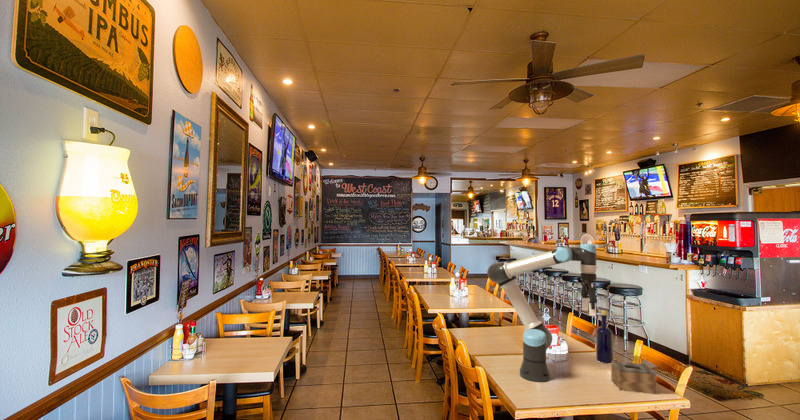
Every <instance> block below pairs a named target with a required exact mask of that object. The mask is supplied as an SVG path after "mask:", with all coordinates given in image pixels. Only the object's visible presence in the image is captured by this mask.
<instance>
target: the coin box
mask: <svg viewBox="0 0 800 420" xmlns="http://www.w3.org/2000/svg"><path fill="white" fill-rule="evenodd" d="M610 366H611V368H610V370H611V372H610V373H611V375H610V377H611V382H612V384H614V386H615V387H616V388H617V387H618V388H617V389H618V390H619V391H621V390H624V391H623V392H631V391H634V392H633V393H640V392H643V394H650V393H653V394H652V395H657V372H655V371H654V370H653V369H652V368H650V367H649V366H648V365H647V364H645V363H636V362H635V363H633V362H626V361H625V362H624V361H614V360H613V361H611V364H610Z"/></svg>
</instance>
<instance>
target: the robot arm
mask: <svg viewBox="0 0 800 420" xmlns="http://www.w3.org/2000/svg"><path fill="white" fill-rule="evenodd" d="M570 261H571V262H572V261H573V262H580V267H579V268H580V280H581V281H582V283H581V284H582V285H581V292H580V296H581V297H582V298H581V300H582V303H581V304H582V305H581V306H582V311H589V312H588V313H589V316H590V317H591V316H593V317H595V316H596V310H597V309H596V303H598V300H597V299H598V298H597V293H596V284H595V283H594V281H595V282H596V281H597V269H598V266H597V246H596V245H595V244H593V243H581V244H580V246H577V247H575V246H558V247H557V248H556V249H553V250H550V251H547V252H543V253H539V254H535V255H533V256H528V257H524V258H521V259H518V260H515V261H510V262H507V261H499V262H496V263H492V264H490V265H489V266H488V268H487V270H486V271H487V277H488V278H489V279H488V280H490V281H491V282H493V283H494V284H495V283H496V284H497V285H498V288H499V289H503V290H504V293H505V294H506V297H507V298H508V301H509V302H510V303H511V306H512V308H513V309H514V310H515V312H516V314H517V316H518V318H519V320H520V321H521V323H522V325H523V327H524V328H523V333H522V334H523V335H522V362H521V364H520V368H519V376H520V377H521V378H523V379H525V380H527V381H532V382H538V383H542V382H543V383H544V382H548V381H549V380H550V378H551V377H550V370H549V368H548V365H547V350H548V348H550V347H551V345H552V342H553V335H552V332H551V331H550V329H548V328H547V327H546V326H545V324H544V323H543V321H541V320H539V319H538V318H537V316H536V314H535V313H534V311H533V309H532V308H531V306H530V304H529V302H528V300H527V299H526V296H525V295H524V293H523V292H522V290H521V288H520V286H519V285H518V283H517V282H518V278H517V275H518V276H519V275H522V274H526V273H529V272H533V271H536V270H540V269H544V268H548V267H552V266H556V265H559V264H563V263H567V262H570Z"/></svg>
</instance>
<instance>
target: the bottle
mask: <svg viewBox="0 0 800 420" xmlns="http://www.w3.org/2000/svg"><path fill="white" fill-rule="evenodd" d="M607 313H608V312H607V310H601V313H600V316H601V317H600V319H601V326H599V327H597V328H596V329H595V339H596V340H595V355H596V356H595V359H597V360H598V361H600V362H599V363H602V362H603V364H608V363H611V361H614V349H613V348H614V345H613V343H614V341H613V339H614V337H613V330H611V328H609V327H607V326H608V323H607V319H608V318H607V317H608V314H607ZM597 360H596V361H597ZM598 361H597V362H598Z"/></svg>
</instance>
